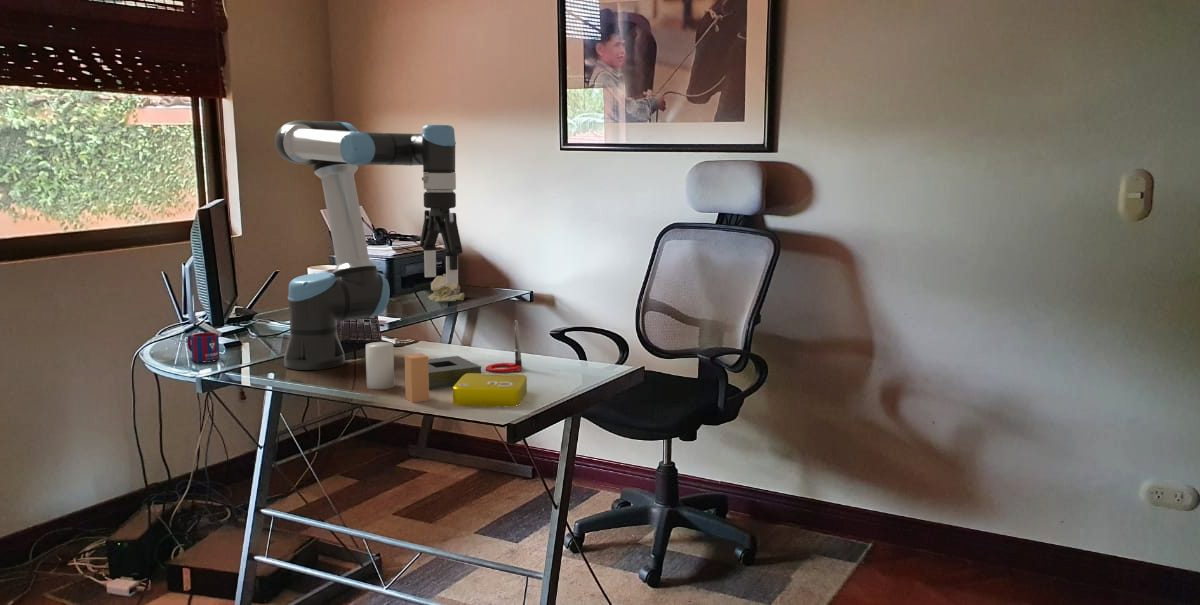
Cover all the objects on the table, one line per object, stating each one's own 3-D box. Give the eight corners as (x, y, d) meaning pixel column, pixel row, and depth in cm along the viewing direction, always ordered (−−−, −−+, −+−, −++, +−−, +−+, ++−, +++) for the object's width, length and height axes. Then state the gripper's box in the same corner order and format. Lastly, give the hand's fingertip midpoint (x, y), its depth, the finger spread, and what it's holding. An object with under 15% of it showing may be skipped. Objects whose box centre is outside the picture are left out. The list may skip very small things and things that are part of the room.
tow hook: (485, 375, 233) (521, 373, 234) (482, 325, 232) (519, 323, 232) (486, 368, 242) (521, 366, 242) (483, 319, 240) (519, 317, 240)
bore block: (405, 377, 228) (404, 361, 227) (457, 371, 235) (457, 355, 235) (426, 389, 216) (426, 373, 216) (481, 382, 224) (481, 366, 223)
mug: (201, 363, 241) (200, 338, 240) (180, 358, 247) (178, 333, 246) (224, 359, 247) (223, 334, 245) (203, 354, 252) (202, 330, 251)
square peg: (405, 398, 208) (404, 355, 207) (422, 396, 211) (421, 353, 209) (412, 402, 205) (411, 358, 204) (429, 400, 207) (428, 356, 206)
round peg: (363, 384, 221) (361, 343, 219) (389, 381, 224) (387, 341, 222) (371, 390, 215) (370, 348, 214) (398, 387, 219) (397, 345, 217)
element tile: (528, 392, 217) (528, 372, 216) (518, 409, 202) (518, 387, 202) (464, 390, 218) (464, 370, 217) (450, 407, 203) (450, 385, 202)
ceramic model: (426, 302, 348) (425, 275, 347) (428, 297, 359) (428, 272, 358) (463, 301, 350) (463, 275, 348) (465, 297, 361) (464, 271, 359)
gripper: (405, 189, 227) (407, 275, 230) (445, 193, 206) (446, 287, 210) (434, 189, 231) (435, 273, 234) (476, 193, 210) (477, 285, 213)
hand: (441, 280), depth 222 cm, fingers open, 13 cm apart
